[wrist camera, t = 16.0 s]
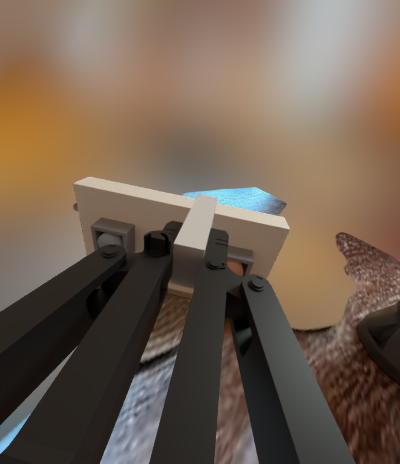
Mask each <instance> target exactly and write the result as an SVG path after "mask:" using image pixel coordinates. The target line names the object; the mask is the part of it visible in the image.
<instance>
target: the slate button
mask: <svg viewBox="0 0 400 464" xmlns="http://www.w3.org/2000/svg"><path fill="white" fill-rule="evenodd" d="M97 243H98V246H99V248H100V247H103V246H105V245H109V244H117V245H121V246H122V247H123V236H120V235H115V234H111V233H106V232H104V233H103V234H102V235H101V236H100V237H99V238H98V240H97Z"/></svg>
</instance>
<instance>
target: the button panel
mask: <svg viewBox="0 0 400 464" xmlns="http://www.w3.org/2000/svg"><path fill="white" fill-rule="evenodd" d="M73 185H74V191H75V196H76V201H77V206H78V211H79V216H80V222H81V226H82V232H83V236H84V242H85V247H86V253H87V256H88V255H89V254H91V253H93V252H94V251H96V250H97V249H99V246H98V243H97V240H98V238H99V237H100V236H101V235H102V234H103V233H104V232H106V233H111V234H115V235H120V236H123V247H124V248H125V250H126V253H137V252H143V250H144V235H145V234H146V233H148V232H151V231H162V230H163V229H164V227H165V225H166V224H167V223H169V222H170V221H177V222H182V223H184V222H185V219H186V217H187V215H188V213H189V211H190V209H191V207H192V205H193V203H194V201H195V199H194V198H189V197H185V196H180V195H175V194H170V193H165V192H161V191H156V190H151V189H146V188H142V187H137V186H131V185H127V184H122V183H118V182H113V181H108V180H103V179H98V178H94V177H87V178H85V179H82V180H80V181H78V182H75V183H73ZM212 228H214V229H218V230H223V231H226V232H227V234H228V235H229V243H228V255H227V260H232V261H236V262H241V263H243V276H242V277H244V276H246V275H248V274H256V275H259V276H261V277H264V278H265V279H267V277H268V275H269V273H270V271H271V269H272V266H273V264H274V262H275V260H276V258H277V256H278V254H279V251H280V250H281V248H282V245H283V243H284V241H285V239H286V237H287V235H288V233H289V231H290V229H289V226H288V224H287V222H286V220H285V218H284V217H280V216H275V215H270V214H266V213H261V212H256V211H251V210H246V209H242V208H237V207H232V206H227V205H223V204H218V203H217V204H216V209H215V214H214V219H213V224H212ZM170 282H171V279H170V281H169V283H168V291H167V293H169V294H173V295H177V296H181V297H186V298H190V299H192V295H193V291H194V289H192V288H188V287H184V286H179V285H175V284H171V283H170Z"/></svg>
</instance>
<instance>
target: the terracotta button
mask: <svg viewBox="0 0 400 464" xmlns="http://www.w3.org/2000/svg"><path fill="white" fill-rule="evenodd" d="M227 264H228V267H229V268H230V270H231V271H233V272H234V273H236V274H237V275H239V276H241V277H242V276H243V263H241V262H236V261H232V260H227Z"/></svg>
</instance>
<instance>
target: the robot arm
mask: <svg viewBox="0 0 400 464" xmlns="http://www.w3.org/2000/svg"><path fill="white" fill-rule="evenodd" d="M217 199H218V198H215V197H210V196H205V195H200V194H198V195H197V197H196V199H195V201H194V203H193V205H192V207H191V209H190V211H189V213H188V215H187V217H186V219H185V222H184V223H182V222H177V221H170V222H169V223H167V224H166V225H165V227H164V229H163V230H162V231H151V232H148V233H146V234H145V235H144V250H143V252H137V253H126V250H125V248H124V247H122V246H121V245H117V244H109V245H105V246H103V247H100V248H99V249H97V250H96V251H94V252H93V253H91V254H89V255H88V256H86V257H85V258H83V259H82V260H80V261H79V262H77V263H76V264H74V265H72V266H71V267H69V268H68V269H66V270H65V271H63V272H62V273H60V274H58V275H57V276H55V277H54V278H52V279H51V280H49V281H48V282H46V283H44V284H43V285H41V286H40V287H38V288H37V289H35V290H34V291H32V292H31V293H29V294H28V295H26V296H24V297H23V298H21V299H20V300H18V301H17V302H15V303H13V304H12V305H11V306H9V307H7V308H6V309H4V310H3V311H1V312H0V425H1V424H2V423H3V422H4V421H5V420H6V419H7V418H8V417H9V416H10V415H11V414H12V412H14V411H15V410H16V409H17V407H18V406H19V405H20V404H21V403H22V402H23V401H24V400H25V399H26V398H27V397H28V396H29V395H30V394H31V393H32V392H33V391H34V390H35V389H36V388H37V387H38V386H39V385H40V384H41V383H42V382H43V381H44V380H45V379H46V378H47V377H48V376H49V374H50V373H52V371H53V370H54V369H55V368H56V367H57V366H58V365H59V364H60V363H61V362H62V361H63V360H64V359H65V358H66V357H67V356H68V355H69V354H70V353H71V352H72V351H73V350H74V349H75V348H76V347H77V348H76V349H75V351H74V352H73V354H72V355H71V357H70V358H69V359H68V361H67V362H66V364H65V365H64V367H63V368H62V370H61V371H60V373H59V374H58V376H57V377H56V378H55V380H54V381H53V383H52V384H51V386H50V387H49V389H48V390H47V392H46V393H45V395H44V396H43V397H42V399H41V400H40V402H39V403H38V405H37V406H36V408H35V409H34V411H33V412H32V413H31V415H30V416H29V418H28V419H27V421H26V422H25V424H24V425H23V427H22V428H21V429H20V431H19V432H18V434H17V435H16V437H15V438H14V439H13V441H12V442H11V443H10V445H9V446H8V447H7V448H6V449H5V450H4V451H3V452H2V453H1V454H0V464H100V461H101V459H102V456H103V454H104V451H105V449H106V446H107V444H108V441H109V439H110V436H111V433H112V431H113V428H114V426H115V423H116V421H117V418H118V416H119V413H120V411H121V408H122V406H123V403H124V400H125V398H126V395H127V393H128V390H129V388H130V385H131V383H132V380H133V378H134V375H135V373H136V370H137V367H138V365H139V362H140V360H141V357H142V355H143V352H144V350H145V347H146V345H147V342H148V340H149V337H150V334H151V332H152V329H153V327H154V324H155V322H156V319H157V317H158V314H159V312H160V309H161V307H162V304H163V301H164V299H165V296H166V294H167V291H168V283H169V281H170V279H171V282H170V283H171V284H175V285H179V286H184V287H188V288H192V289H194V291H193V295H192V299H191V303H190V307H189V310H188V314H187V318H186V322H185V326H184V330H183V334H182V338H181V342H180V345H179V349H178V353H177V357H176V361H175V365H174V369H173V373H172V377H171V380H170V384H169V388H168V392H167V396H166V400H165V404H164V408H163V411H162V415H161V419H160V423H159V427H158V431H157V435H156V439H155V443H154V446H153V450H152V454H151V458H150V462H149V464H214V456H215V442H216V428H217V415H218V401H219V387H220V373H221V360H222V346H223V332H224V319H225V316H227V317H229V321H230V326H231V331H232V336H233V340H234V345H235V350H236V355H237V360H238V364H239V369H240V374H241V379H242V384H243V389H244V393H245V398H246V403H247V408H248V413H249V417H250V422H251V427H252V432H253V437H254V442H255V446H256V451H257V456H258V461H259V464H356V463H355V461H354V459H353V457H352V454H351V452H350V450H349V448H348V446H347V444H346V442H345V440H344V438H343V435H342V433H341V431H340V429H339V427H338V425H337V423H336V421H335V419H334V417H333V414H332V412H331V410H330V408H329V406H328V404H327V402H326V400H325V398H324V396H323V393H322V391H321V389H320V387H319V385H318V383H317V381H316V379H315V377H314V375H313V372H312V370H311V368H310V366H309V364H308V362H307V360H306V358H305V356H304V354H303V351H302V349H301V347H300V345H299V343H298V341H297V339H296V337H295V335H294V333H293V330H292V328H291V326H290V324H289V322H288V320H287V318H286V316H285V314H284V312H283V309H282V307H281V305H280V303H279V301H278V299H277V297H276V295H275V293H274V291H273V288H272V286H271V285H270V283H269V282H268V281H267V280H266V279H265V278H264V277H261V276H259V275H256V274H248V275H246V276H244V277H241V276H239V275H237V274H236V273H234V272H233V271H231V270H230V268H229V267H228V264H227V255H228V243H229V235H228V234H227V232H226V231H223V230H218V229H214V228H212V224H213V219H214V214H215V209H216V204H217ZM358 334H359V338H360V340H361V342H362V344H363V346H364V348H365V349H366V351H367V352H368V354H369V355H370V356H371V358H372V359H373V360H374V361H375V363H376V364H377V365H378V366H379V367H380V368H381V369H382V370H383V371H384V372H385V373H386V374H387V375H388V376H390V377H391V378H392V379H393V380H394V381H395V382H397V383H398V384H399V385H400V301H399V302H398V303H396V304H395V305H392V306H390V307H387V308H384V309H381V310H379V311H376V312H373V313H370V314H368V315H367V316H366V317H365V318H364V319H363V320H362V321H361V322H360V323H359V325H358Z"/></svg>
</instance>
